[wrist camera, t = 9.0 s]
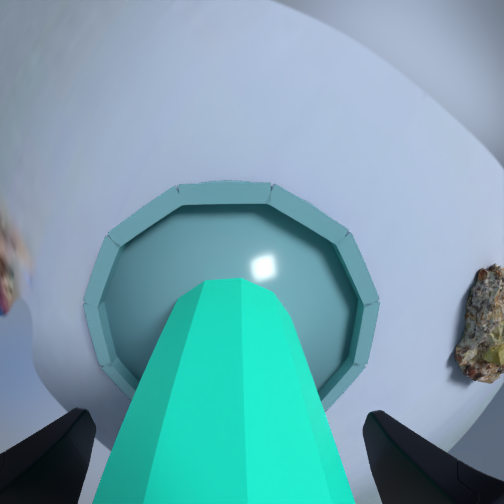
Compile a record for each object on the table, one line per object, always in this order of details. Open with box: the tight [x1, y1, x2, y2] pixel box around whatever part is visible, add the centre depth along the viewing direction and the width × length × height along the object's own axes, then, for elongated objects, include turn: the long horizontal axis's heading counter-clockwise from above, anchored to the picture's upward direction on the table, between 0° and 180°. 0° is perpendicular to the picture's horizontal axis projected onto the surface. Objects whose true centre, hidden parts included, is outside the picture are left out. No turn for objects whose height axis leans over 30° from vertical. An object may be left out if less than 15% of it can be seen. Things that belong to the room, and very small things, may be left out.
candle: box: [92, 278, 355, 504], centre depth 7 cm, size 6×6×12 cm
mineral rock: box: [455, 264, 504, 383], centre depth 15 cm, size 11×4×8 cm
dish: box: [83, 180, 380, 412], centre depth 13 cm, size 14×14×2 cm
